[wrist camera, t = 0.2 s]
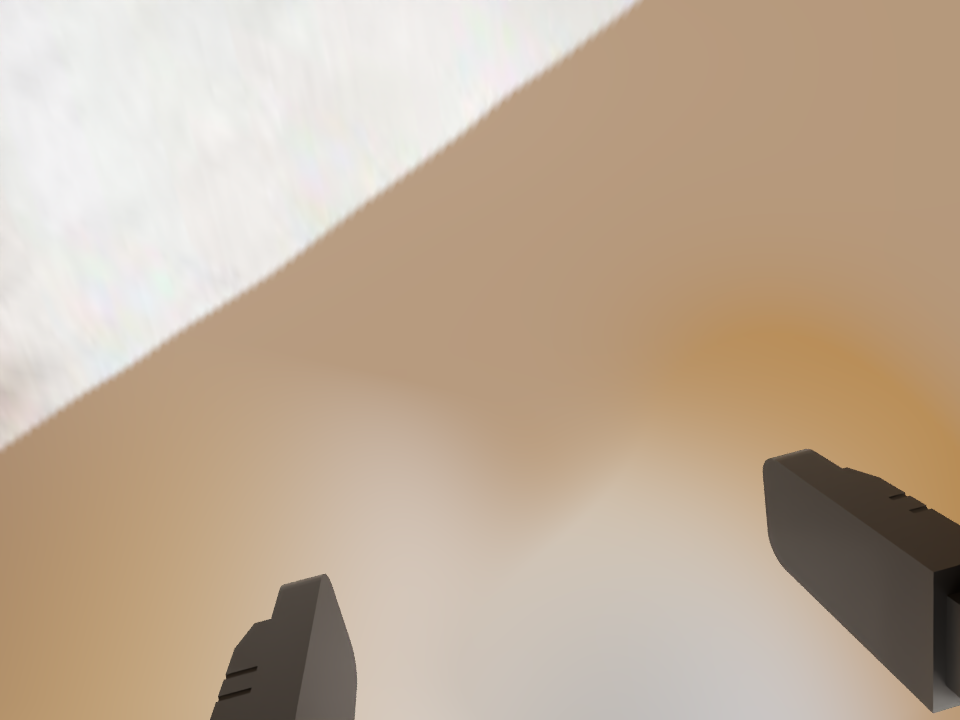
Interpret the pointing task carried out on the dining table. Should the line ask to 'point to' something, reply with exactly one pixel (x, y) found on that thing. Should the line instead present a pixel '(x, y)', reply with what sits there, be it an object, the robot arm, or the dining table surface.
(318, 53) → the dining table surface
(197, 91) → the dining table surface
